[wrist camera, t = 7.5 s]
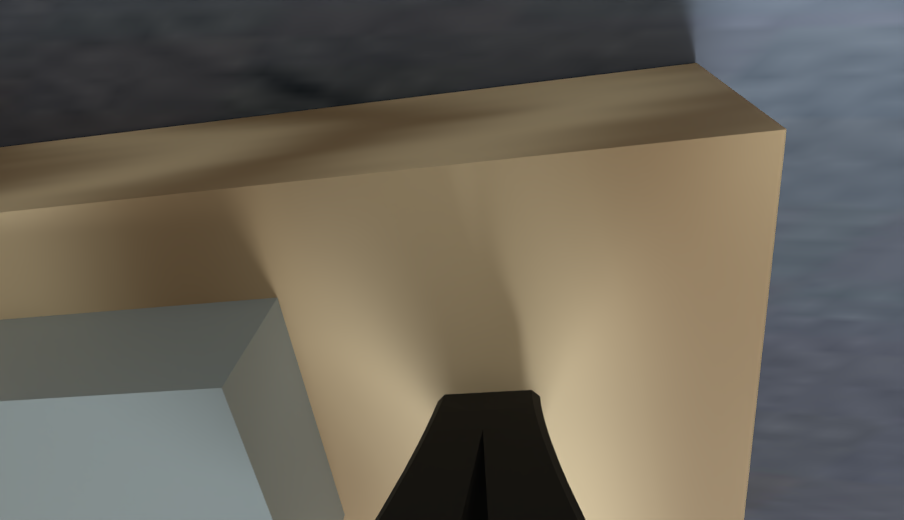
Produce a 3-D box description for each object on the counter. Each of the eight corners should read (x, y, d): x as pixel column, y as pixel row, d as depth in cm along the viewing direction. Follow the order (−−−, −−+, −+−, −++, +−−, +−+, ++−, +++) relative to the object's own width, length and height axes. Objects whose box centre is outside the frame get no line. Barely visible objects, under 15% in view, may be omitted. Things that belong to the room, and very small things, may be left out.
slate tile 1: (277, 297, 9) (221, 388, 7) (345, 514, 11) (313, 626, 9) (-2, 320, 10) (-116, 408, 8) (111, 522, 12) (40, 628, 10)
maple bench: (696, 63, 11) (786, 129, 7) (676, 560, 17) (720, 728, 13) (-23, 149, 13) (-226, 236, 9) (188, 569, 19) (114, 719, 15)
